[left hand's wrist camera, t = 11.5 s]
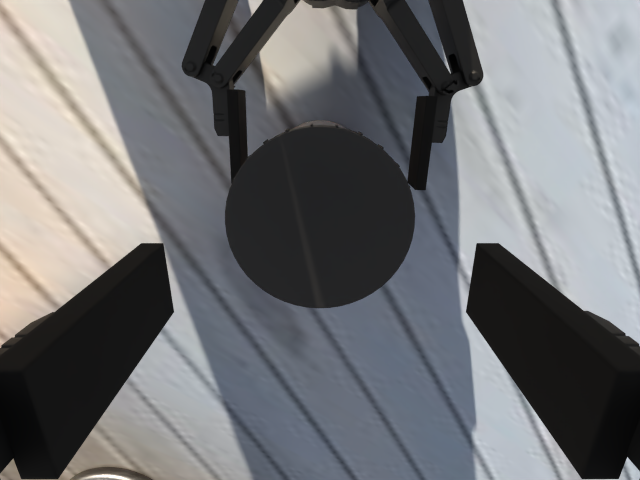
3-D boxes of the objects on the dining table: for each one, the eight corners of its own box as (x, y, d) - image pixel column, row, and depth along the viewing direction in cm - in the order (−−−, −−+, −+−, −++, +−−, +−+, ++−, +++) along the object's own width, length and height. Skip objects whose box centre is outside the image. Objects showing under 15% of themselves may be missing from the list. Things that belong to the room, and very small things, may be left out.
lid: (346, 321, 23) (348, 337, 21) (201, 244, 21) (191, 255, 20) (445, 187, 20) (455, 194, 18) (286, 84, 18) (283, 82, 17)
